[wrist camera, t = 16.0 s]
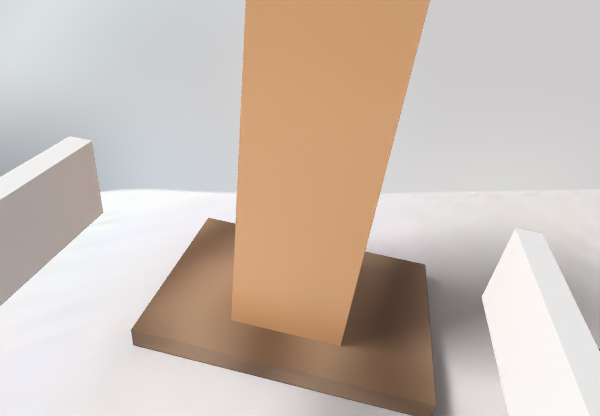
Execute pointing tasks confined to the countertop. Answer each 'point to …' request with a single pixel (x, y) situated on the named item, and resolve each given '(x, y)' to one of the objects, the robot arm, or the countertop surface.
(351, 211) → the tall wooden block
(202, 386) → the countertop surface
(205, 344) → the post board
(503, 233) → the countertop surface
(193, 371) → the countertop surface
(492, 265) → the countertop surface
